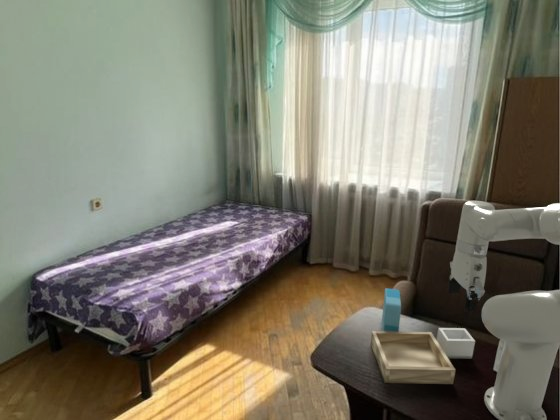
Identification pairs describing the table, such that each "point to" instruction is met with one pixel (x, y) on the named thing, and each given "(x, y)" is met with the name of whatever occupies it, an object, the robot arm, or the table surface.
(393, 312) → the data package
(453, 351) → the white open box
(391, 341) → the wooden tray
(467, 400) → the table surface
